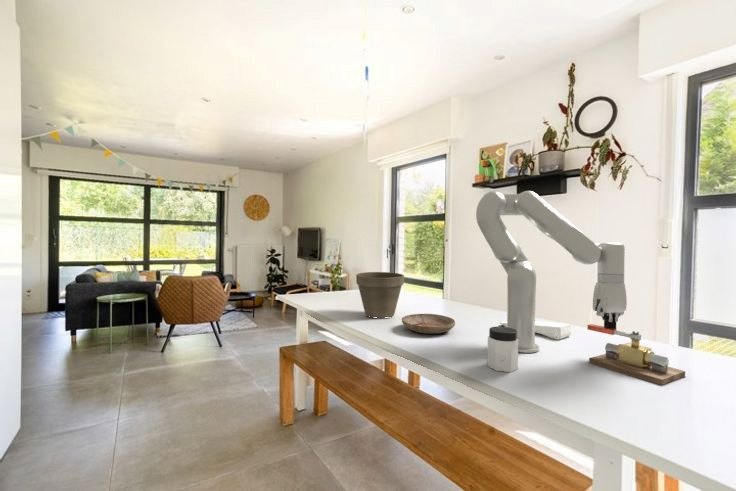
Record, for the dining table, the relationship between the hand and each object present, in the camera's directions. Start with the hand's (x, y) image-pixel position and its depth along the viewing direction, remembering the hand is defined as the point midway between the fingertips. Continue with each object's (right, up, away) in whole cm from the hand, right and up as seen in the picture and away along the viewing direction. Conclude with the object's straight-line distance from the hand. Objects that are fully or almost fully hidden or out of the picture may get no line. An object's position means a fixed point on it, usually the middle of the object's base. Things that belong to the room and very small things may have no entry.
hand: (610, 332), depth 121 cm
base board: (+1, -9, -10) cm, 13 cm away
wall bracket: (-10, -9, +36) cm, 38 cm away
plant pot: (-76, -7, +64) cm, 100 cm away
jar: (-40, -9, -9) cm, 42 cm away
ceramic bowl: (-56, -8, +36) cm, 67 cm away
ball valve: (+1, -7, -10) cm, 12 cm away
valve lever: (-2, +1, -4) cm, 5 cm away
